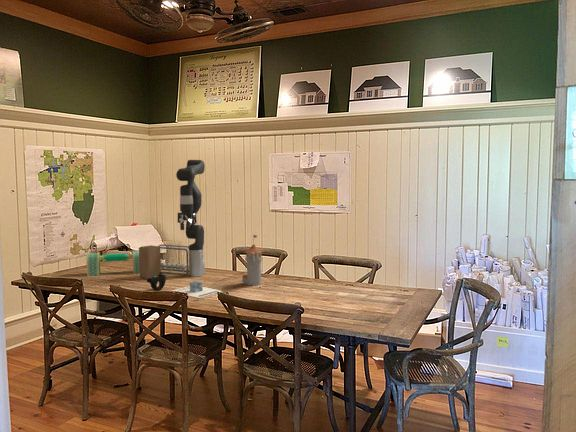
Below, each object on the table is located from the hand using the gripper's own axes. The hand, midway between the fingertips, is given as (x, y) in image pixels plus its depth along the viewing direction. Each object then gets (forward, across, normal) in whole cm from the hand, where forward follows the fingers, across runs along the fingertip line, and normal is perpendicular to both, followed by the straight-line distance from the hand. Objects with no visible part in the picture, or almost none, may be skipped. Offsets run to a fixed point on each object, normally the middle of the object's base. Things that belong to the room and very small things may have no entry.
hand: (187, 230), depth 278 cm
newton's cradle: (+33, +38, -19) cm, 54 cm away
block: (+33, +37, 0) cm, 50 cm away
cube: (+33, -14, +6) cm, 36 cm away
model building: (+33, -27, -27) cm, 51 cm away
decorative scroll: (+34, +66, +6) cm, 74 cm away
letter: (+33, -14, +6) cm, 36 cm away
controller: (+33, +6, +18) cm, 38 cm away
